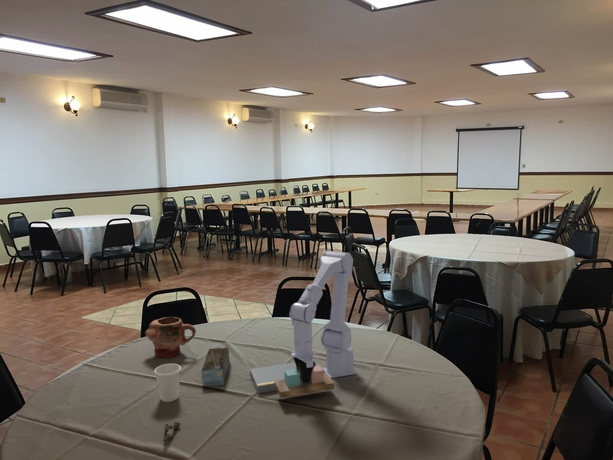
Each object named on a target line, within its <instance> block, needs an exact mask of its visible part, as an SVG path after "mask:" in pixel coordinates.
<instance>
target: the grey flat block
mask: <svg viewBox="0 0 613 460" xmlns="http://www.w3.org/2000/svg"><path fill="white" fill-rule="evenodd" d="M292 369H296V364H295V361H294V362H287V363H283V364H282V363H281V364H274V365H269V366H261V367H260V366H259V367H256V368H254V367H253V368H250V369H249V376H250V379H251V381H252V383H253V385H254V388H255V390H256V392H257V394H262V393H263V394H264V393H269V392H275V391H277V389H275V387H274V381H278V380H285V376H284V371H286V370H292Z"/></svg>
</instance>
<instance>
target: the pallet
mask: <svg viewBox="0 0 613 460" xmlns="http://www.w3.org/2000/svg"><path fill="white" fill-rule="evenodd" d="M296 369H297V371H298V372H299V374H300V386H296V387H290V388H288V387H287V385H286V384H285V380H278V381H274V387H275V389H277V390H276V392H277V394H278V396H279V399H284V398H289V397H296V396H301V395H307V394H313V393H319V392H323V391H330V390H335V388H336V387H335V382H334V380H332V378H330V377H329V376H328V374H327V373H325V372H324V382H320V383H314V384H312V374H311V378H310V382H309V383H303V381H302V377H301V372H300V368H299V367H296Z"/></svg>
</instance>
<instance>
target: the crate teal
mask: <svg viewBox="0 0 613 460" xmlns="http://www.w3.org/2000/svg"><path fill="white" fill-rule="evenodd" d="M284 376H285V384H286V385H287V387H288V388H290V387H296V386H300V374H299V372H298V371H297V369H292V370H286V371H284Z"/></svg>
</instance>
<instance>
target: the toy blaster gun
mask: <svg viewBox="0 0 613 460" xmlns="http://www.w3.org/2000/svg"><path fill="white" fill-rule="evenodd" d="M180 426H181V422H180V421H173V424H168V423H166V424H165V425H163V430H164V434H163V439H162V441H163V442H165V443H166V442H167V439H169V440H170V438H171V437H172V434H171V433H168V432H169V430H172V429H176V430H179V429H181V428H180Z"/></svg>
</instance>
